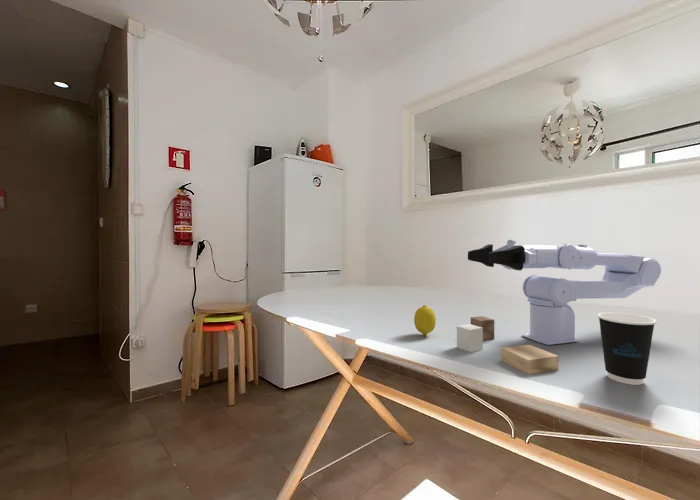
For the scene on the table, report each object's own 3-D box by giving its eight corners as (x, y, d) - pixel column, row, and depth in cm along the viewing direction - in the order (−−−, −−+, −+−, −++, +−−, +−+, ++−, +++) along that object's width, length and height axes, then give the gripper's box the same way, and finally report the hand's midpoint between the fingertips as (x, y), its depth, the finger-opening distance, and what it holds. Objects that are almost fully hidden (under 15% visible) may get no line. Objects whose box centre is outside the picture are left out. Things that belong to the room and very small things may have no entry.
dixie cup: (627, 369, 60) (627, 311, 60) (669, 388, 53) (670, 322, 52) (585, 370, 60) (586, 312, 60) (622, 389, 52) (622, 323, 52)
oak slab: (529, 358, 68) (529, 344, 68) (558, 371, 61) (558, 356, 61) (501, 362, 66) (501, 347, 66) (528, 375, 59) (528, 360, 59)
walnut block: (483, 335, 84) (483, 316, 84) (494, 339, 80) (494, 319, 80) (470, 336, 83) (470, 317, 83) (480, 340, 79) (480, 320, 79)
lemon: (436, 339, 81) (436, 307, 81) (414, 338, 82) (413, 307, 82) (435, 332, 86) (434, 303, 86) (414, 332, 87) (414, 302, 87)
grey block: (468, 344, 76) (468, 323, 76) (482, 349, 73) (482, 327, 73) (456, 347, 74) (456, 326, 74) (470, 352, 71) (470, 330, 71)
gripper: (506, 239, 84) (461, 239, 81) (553, 240, 70) (501, 239, 67) (505, 266, 85) (460, 266, 81) (552, 272, 70) (499, 273, 67)
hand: (478, 256), depth 74 cm, fingers open, 7 cm apart
